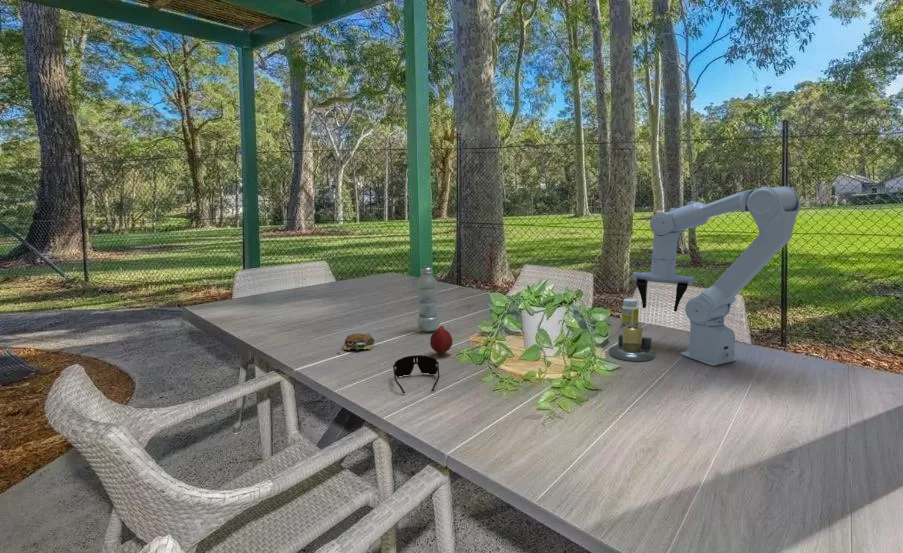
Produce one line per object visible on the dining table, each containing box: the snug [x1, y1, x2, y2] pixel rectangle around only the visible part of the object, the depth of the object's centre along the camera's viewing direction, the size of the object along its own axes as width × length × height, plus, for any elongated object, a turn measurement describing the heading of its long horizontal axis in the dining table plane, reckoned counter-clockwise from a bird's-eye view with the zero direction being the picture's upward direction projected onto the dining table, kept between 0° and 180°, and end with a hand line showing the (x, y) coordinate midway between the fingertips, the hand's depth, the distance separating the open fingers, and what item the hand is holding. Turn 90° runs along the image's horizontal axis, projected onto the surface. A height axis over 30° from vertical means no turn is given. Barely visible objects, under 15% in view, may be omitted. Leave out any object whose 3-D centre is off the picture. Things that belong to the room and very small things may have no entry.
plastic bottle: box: [416, 266, 440, 333], centre depth 150 cm, size 6×7×20 cm
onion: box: [429, 324, 453, 355], centre depth 128 cm, size 6×6×8 cm
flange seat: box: [608, 334, 656, 363], centre depth 124 cm, size 11×11×3 cm
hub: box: [622, 325, 643, 353], centre depth 125 cm, size 5×5×6 cm
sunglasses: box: [392, 354, 440, 394], centre depth 110 cm, size 10×12×5 cm
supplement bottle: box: [621, 298, 640, 327], centre depth 149 cm, size 5×5×8 cm
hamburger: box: [343, 332, 376, 351], centre depth 136 cm, size 14×14×6 cm
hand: (659, 308), depth 130 cm, fingers open, 7 cm apart
